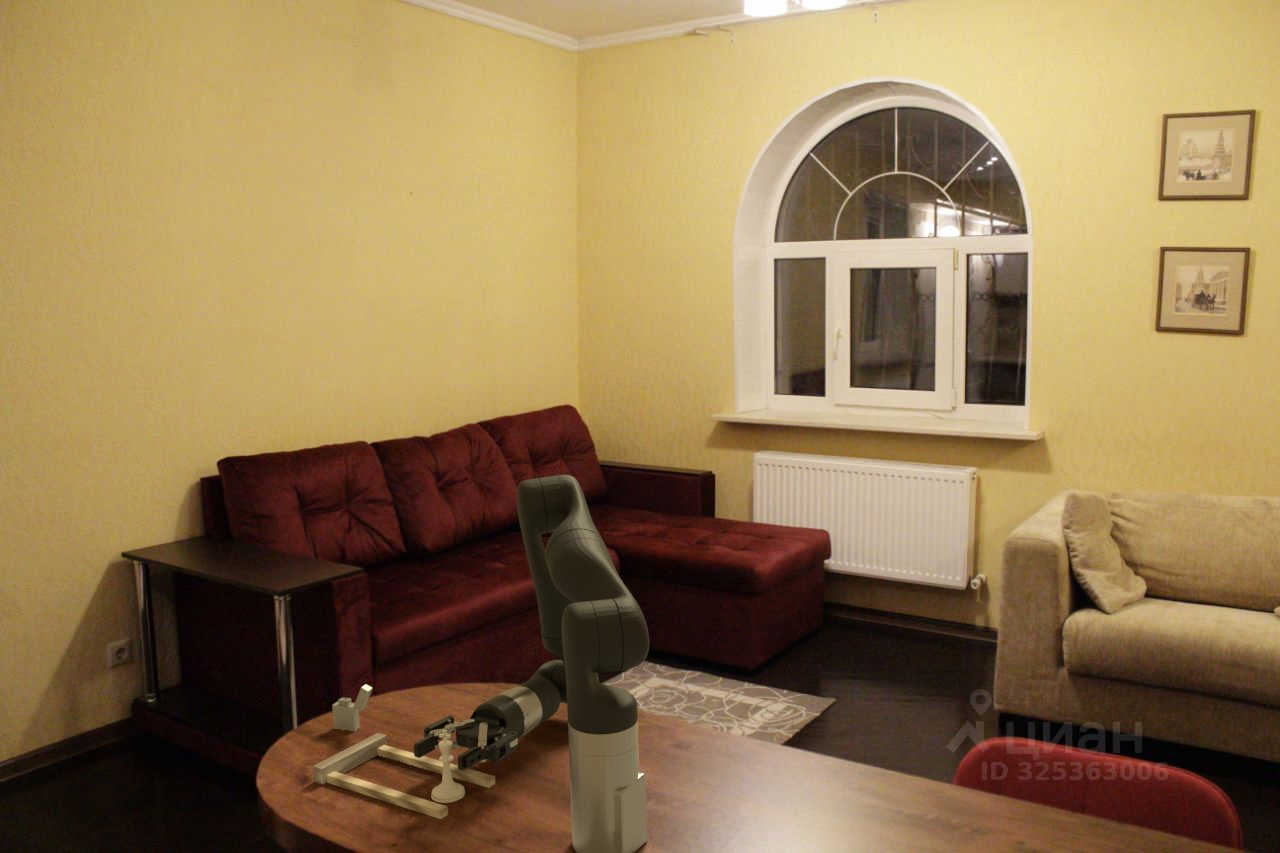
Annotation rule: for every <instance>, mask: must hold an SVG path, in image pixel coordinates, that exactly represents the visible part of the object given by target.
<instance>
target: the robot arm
mask: <svg viewBox="0 0 1280 853" xmlns="http://www.w3.org/2000/svg"><path fill="white" fill-rule="evenodd" d="M515 495H516V508H517V515H518V516H517V517H518V521H519V527H520V531H521V536H522V540H523V545H524V550H525V554H526V558H527V561H528V562H527V563H528V568H529V572H530V575H531V578H532V582H533V583H532V584H533V587H534V591H535V594H536V599H537V600H536V601H537V606H538V614H539V616H538V617H539V623H540V632H541V639H542V645H543V648H544V649H545V650H546V651H547V652H549V653H551V654H553V655H555V656H557V657H558V658H559V659H553V660H550V661H547V662H544V663H543V664H541V666H540V667H538V669H537V670H536V671H535V672H534V673H533V674H532V675H531V677H530V678H529V679H528V680H526V681H525V682H523V683H521V684H520V685H517V686H516V687H513V688H509V689H507V690H505V691H503V692H502V693H499V694H497V695H496V696H494V697H492V698H490V699H488V700H487V701H484V702H483V703H481V704H480V705H479V704H478V706H476V707H475V709H474V710H473V713H471V716H470V717H469V719H468V718H467V719H464V720H461V721H459V722H458V721H455V716H454V715H448V716H445V717H444V718H443V717H442V718H440V719H439V720H436V721H434V722H433V723H431V724H429V725H426V726H424V727H423V738H421V739H419V740H417V741H416V742H414V744H413V753H414V756H415V757H418V758H420V757H422V756H426V755H427V754H429V753H432V752H433V751H435V750H436V749H440V748H439V745H438V744H439V743H440V742H441V741H442V740H443V738H439V734H443V730H447V734H451V736H452V734H453V733H455V741H452V737H451V738H447V740H450V741H451V742H452V747H451V749H452V750H453V749H456V748H457V749H458V748H467V749H468V750H466V751H463V752H462V753H461V754H459V755H458V757H457V766H458V769H459V770H462V771H464V770H466V769H467V768H468V769H470V768H471V767H473V766H475V765H477V764H478V763H479V762H480V763H486V762H487V761H488V760H490V763H492V764H498V763H499V762H501V761H503V759H505V758H507V757H508V756H509V755H512V754H513V752H515V751H517V749H519V746H518V743H519V742H518V741H519V739H521V738H522V737H524V736H525V735H527V734H528V733H530V732H531V731H532V730H534V729H535V728H536V727H537V726H539V725H541V724H542V723H544V722H545V721H547V720H549V719H550V718H551V717H552V716H554V715H555V714H556V713H557V712H558V711H559V708H560V705H561V703H562V704H566V707H567V731H568V732H567V733H568V734H567V735H568V760H569V761H568V764H569V765H568V766H569V785H570V786H569V788H570V789H569V791H570V814H571V815H570V816H571V837H572V838H571V842H572V844H571V845H572V848H573V849H574V850H575V852H576V853H635V852H637V851H638V850H639V849H640V848H641V847H642V846H643V845H644V844H645V843H647V842H648V809H647V808H648V807H647V806H648V804H647V803H648V802H647V775H646V774H645V772H640V756H639V755H640V754H639V752H640V751H639V712H638V711H639V710H638V702H637V699H636V696H634V695H633V694H632V693H631V692H630V691H627V690H625V689H624V688H620V687H616V686H613V685H609V684H605V683H601V682H600V680H599V674H600V673H610V672H616V671H617V672H618V671H626V670H630V669H633V668H636V667H639V666H641V665H642V664H643V663H644V662H645V661H646V658H647V657H648V654H649V649H650V636H649V628H648V624H647V621H646V619H645V616H644V615H645V614H644V613H643V611H642V608H641V607H640V605H639V603H638V602H637V600H636V598H634V596H633V594H632V592H630V590H629V588H628V587H627V586H626V585H625V583H624V581H623V580H622V578H621V577H620V575H619V573H618V571H617V569H616V566H615V564H614V563H613V560H612V557H611V554H610V552H609V551H608V548H607V546H606V543H605V541H604V540H603V538H602V537H601V534H600V533H599V531H598V529H597V527H596V525H595V524H594V521H593V518H592V516H591V513H590V510H589V506H588V504H587V500H586V497H585V494H584V491H583V488H582V486H581V485H580V482H579V481H578V480H577V478H576V477H574V476H572V475H569V474H558V475H551V476H544V477H539V478H531V479H524V480H522V481H520V482H519V484H518V485H517V487H516V494H515ZM548 533H552V534H551V536H549V539H548V540H547V543H546V546H545V545H544V543H543V540H542V535H543V534H548ZM440 740H441V741H440Z"/></svg>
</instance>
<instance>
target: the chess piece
mask: <svg viewBox="0 0 1280 853" xmlns="http://www.w3.org/2000/svg"><path fill="white" fill-rule="evenodd" d="M439 738H442V740H441V742H440V741H439V742H440V743H439V744H438V745H439V748H438V749H440V750H439V751H440V752H441V756H439V759H438V760H439V761H440V762H442V763H443V774H441V775H442V776H441V777H442V779H441V783H439V784H438V785H436V786H435V787H433V789H432V790H431V796H430V797H431V799H432V800H433V802H435V803H439V804H440V803H442V804H448V803H453V802H458V801H459V800H461V799H462V798H464V796H466V795H465V794H466V791H465V786H464V785H462V783H457V782H456V781H454V779H453V777H452V773H451V767H450V764H451V762H452V761H454V756H453V755H452V754H451V747H452V742H453V741H452V742H451V741H450V740H447V738H451V739H452V735H451V734H447V730H443V734H439Z"/></svg>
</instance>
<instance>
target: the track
mask: <svg viewBox="0 0 1280 853" xmlns="http://www.w3.org/2000/svg"><path fill="white" fill-rule="evenodd" d="M378 755H379V757H381V756H382V757H381V758H385V757H386V758H385V759H388V758H390V759H389V760H392V759H393V761H395V760H396V761H395V762H398V761H400V762H399V763H402V762H403V764H405V763H406V765H409V766H412V765H413V767H416V768H418V769H419V768H420V769H422V768H423V770H426V771H430V772H432V773H437V774H440V775H443V763H442V762H440V761H439V759H436V758H432V757H428V756H426V755H424V756H422V757H420V758H418V757H415V756H414V752H411V751H409V750H408V751H407V750H405V749H400V748H397V747H393V746H390V745H388V735H387V734H384V733H380V732H377V733H375V734H373V735H370V736H369V737H367V738H365V739H363V740H361V741H359V742H357V743H356V744H354V745H351V746H350V747H348V748H346V749H344V750H342V751H339V752H337V753H336V754H334V755H332V756H330V757H328V758H326V759H324V760H321V761H320V762H318V763H316V764H315V765H312V773H313V783H316V782H317V784H319V785H325V784H326V783H327V784H330V785H334V786H336V787H339V788H343V789H345V790H348V791H352V792H355V793H357V794H361V795H364V796H368V797H370V798H374V799H376V800H379V801H382V802H386V803H389V804H391V805H395V806H398V807H402V808H404V809H408V810H411V811H414V812H417V813H420V814H423V815H427V816H428V817H429V816H430V817H432V818H436V819H439V820H442V819H444V818H445V817H447V816H449V808H448V807H449V806H447V805H443V804H440V803H439V802H435V801H430V800H427V799H425V798H421V797H418V796H415V795H412V794H408V793H405V792H402V791H398V790H396V789H393V788H389V787H387V786H383V785H379V784H376V783H374V782H369V781H368V780H364V779H361V778H357V777H354V776H351V775H348V774H346V773H348V772H349V771H351V770H353V769H355V768H357V767H359V766H360V764H361V765H362V764H364V763H366V762H368V761H369V760H371V758H372V759H373V758H375V757H377V756H378ZM358 765H359V766H358ZM450 767H451V773H452V778H454V779H457V780H461V781H463V782H467V783H469V784H470V783H471V784H474V785H478V786H481V787H484V788H488V789H490V788H491V787H492V786H494V785H496V775H492V774H488V773H484V772H481V771H479V770H478V771H477V770H475V769H470V768H467V769H466V770H464V771H462V770H459V769H458V764H457V765H456V764H453V763H450ZM347 771H348V772H347Z"/></svg>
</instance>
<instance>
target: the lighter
mask: <svg viewBox="0 0 1280 853" xmlns="http://www.w3.org/2000/svg"><path fill="white" fill-rule="evenodd" d="M372 691H373V687H372V686H371V685H368V684H367V683H366V684H364V685H363V686H361V687H360V689H359V692H358V694H357V697H356V700H355V702H352V698H350V697H341V698H338V700H337V701H336V702H335V703H333V704H332V720H333V730H334V729H342V730H341V731H344V730H349V731H348V732H353V731H354V732H356V731H357V729H358V728H359V729H360V726H361V725H360V714H359V713H360V712H361V711H363V710H364V709H365V708H366V706H367V703H368V701H369V699H370V696H371V694H372ZM359 729H358V730H359Z"/></svg>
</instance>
